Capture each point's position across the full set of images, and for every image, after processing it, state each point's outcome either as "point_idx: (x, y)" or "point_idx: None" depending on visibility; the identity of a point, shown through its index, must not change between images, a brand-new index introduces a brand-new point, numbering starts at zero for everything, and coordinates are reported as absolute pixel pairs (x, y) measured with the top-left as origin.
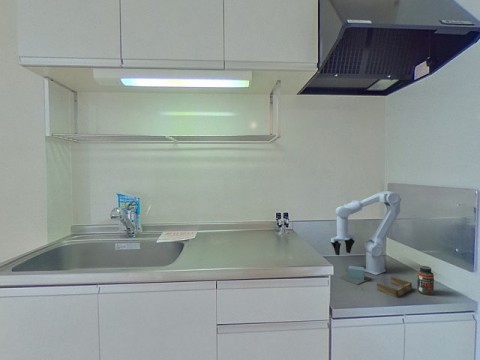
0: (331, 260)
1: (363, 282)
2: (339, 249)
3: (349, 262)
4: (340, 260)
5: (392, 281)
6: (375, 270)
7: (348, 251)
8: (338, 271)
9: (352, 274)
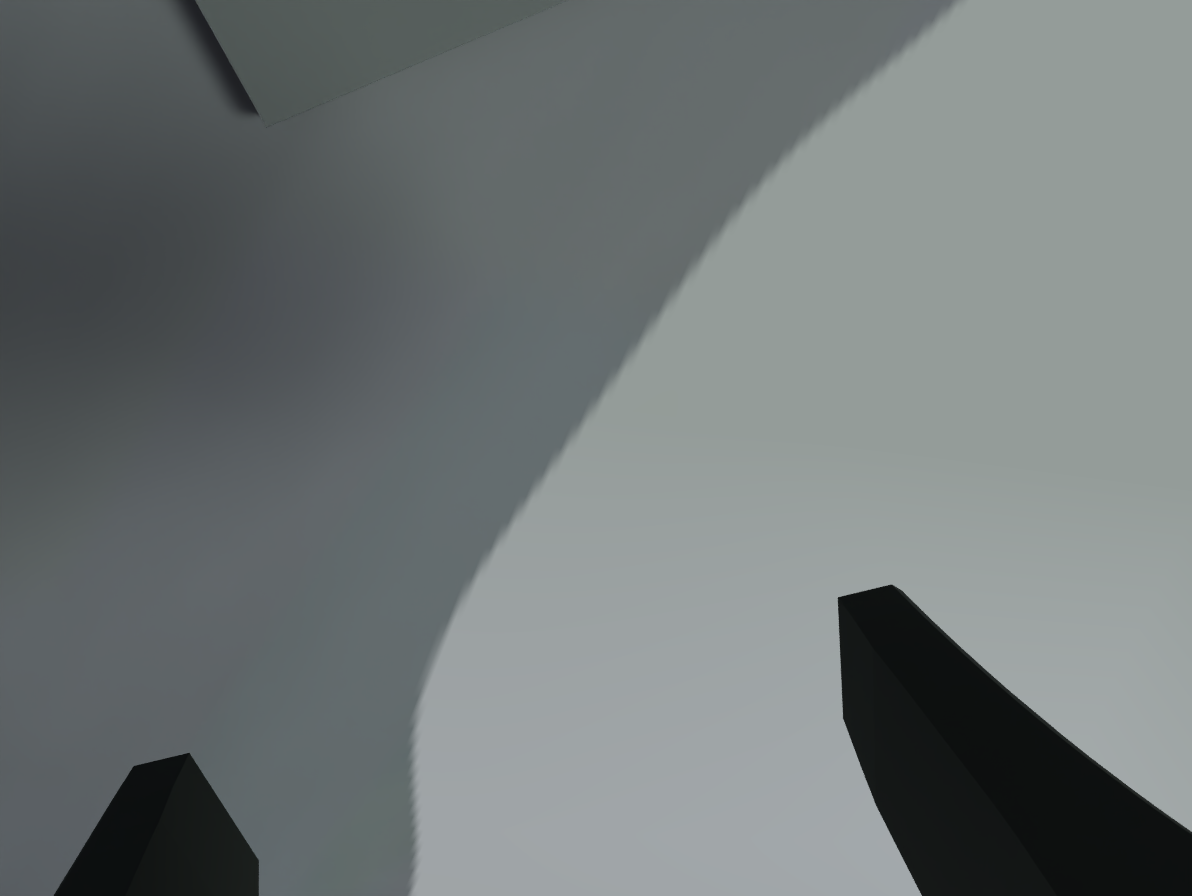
0: (406, 872)
1: None
2: (1030, 826)
3: (27, 761)
4: None
5: None
6: None
7: (196, 852)
8: (630, 327)
9: None
